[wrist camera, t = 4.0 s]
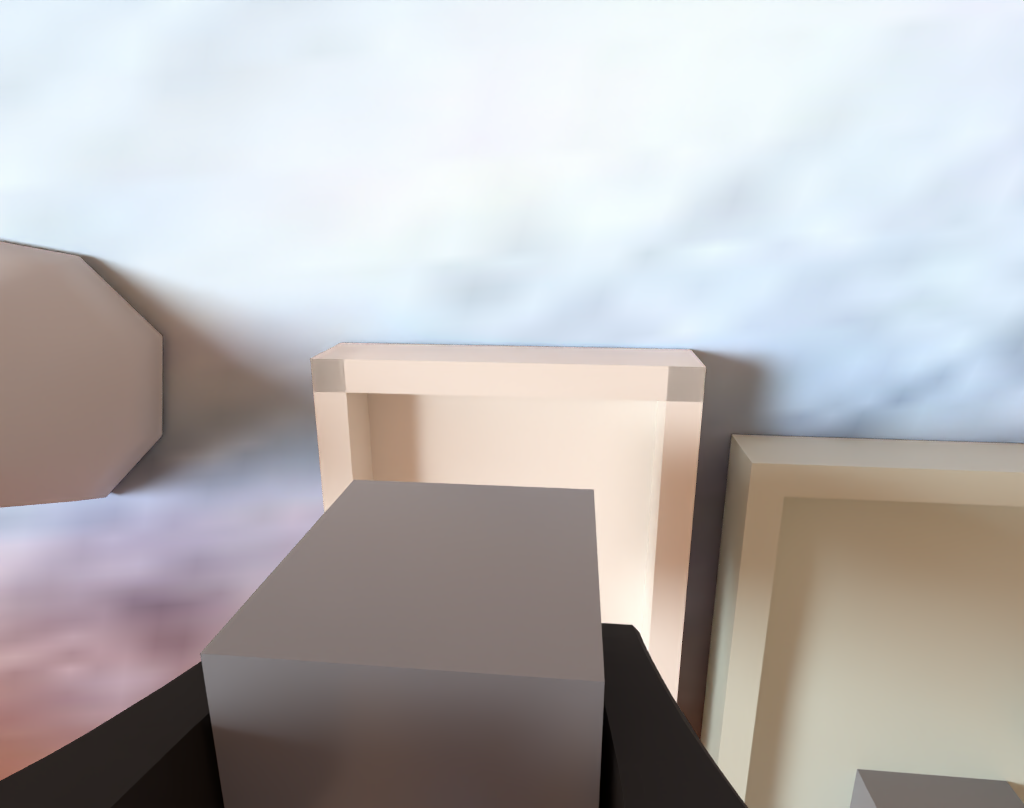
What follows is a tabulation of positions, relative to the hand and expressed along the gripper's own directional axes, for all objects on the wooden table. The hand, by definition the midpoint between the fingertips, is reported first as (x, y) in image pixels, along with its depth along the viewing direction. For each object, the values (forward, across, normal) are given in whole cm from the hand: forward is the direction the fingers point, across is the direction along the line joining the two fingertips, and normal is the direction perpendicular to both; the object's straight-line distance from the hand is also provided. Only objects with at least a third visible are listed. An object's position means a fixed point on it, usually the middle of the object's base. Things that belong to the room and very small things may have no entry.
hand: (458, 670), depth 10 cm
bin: (+8, -12, +6) cm, 16 cm away
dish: (+8, 0, +3) cm, 8 cm away
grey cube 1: (+2, 0, 0) cm, 2 cm away
